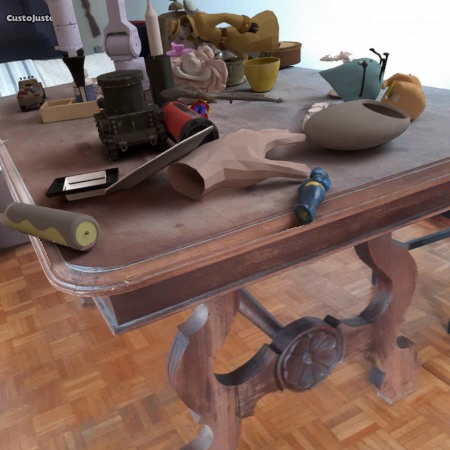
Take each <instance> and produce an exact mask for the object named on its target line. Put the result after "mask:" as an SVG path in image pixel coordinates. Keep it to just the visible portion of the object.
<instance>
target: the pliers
mask: <svg viewBox="0 0 450 450" xmlns="http://www.w3.org/2000/svg"><path fill="white" fill-rule="evenodd" d="M159 95H160V97H162V98H163V99H164V100H167V101H174V100H175V101H177V100H178V98H181V97H183V98H189V99H190V98H193V99H200V100H203V101H207V102H208V103H211V104H218V100H221V101H229V104H230V105H232V104H233V101H241V102H242V101H244V102H266V103H277V104H279V103H281V102H283V101H284V99H283V98H281V97H280V98H278V99H277V98H274V97H268V96H267V97H266V92H264V93H261V92H247V91H244V92H243V91H241V92H240V91H236V92H234V91H231V92H229V91H228V92H220V93H212V92H202V91H201V90H200V89H196V88H195V89H192V90H188V89H185V88H183V87H182V86H176V87H173V88H170V89H167V90H164V91H162V92H160V94H159Z"/></svg>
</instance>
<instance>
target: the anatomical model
mask: <svg viewBox="0 0 450 450" xmlns="http://www.w3.org/2000/svg"><path fill="white" fill-rule="evenodd" d="M213 58H214V53H213V51H212V49H211V48H210V47H209V46H203V47H201V48H200V49H198V50H196V51H190V52H189V53H185V52H184V53H183V54H182V56H179V57H173V58H170V59H171V66H172V73H173V79H174V86H175V87H176V86H182V87H183V88H185V89H188V90H192V89H195V88H196V89H200V90H201V91H202V92H212V93H223V91H224V90H225V88H226V87H227V86H226V85H225V84H226V80H227V76H228V71H227V68H226V65H225V62H224V61H223V60H221V59H219V60H215V59H213ZM177 101H180V102H182V103H184V104H185V105H186V106H187V105H189V106H190V105H192V104H193V103H195V102H196V101H197V99H193V98H190V99H189V98H183V97H181V98H178V100H177Z"/></svg>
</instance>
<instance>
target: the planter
mask: <svg viewBox="0 0 450 450" xmlns="http://www.w3.org/2000/svg"><path fill="white" fill-rule="evenodd" d="M380 101H381V100H380ZM380 101H379V100H369V99H362V100H354V101H348V102H344V101H343V102H341V103H336V104H332V105H330V106H329V105H328V107H326V108H324V109H322V110H320V111H318V112H316V113H315V114H314V115H312V116H311V117H310V118H309V119H308V120H307V121H306V123H305V125H304V130H303V134H306V139H307V140H308V141H310V142H311V143H312V144H314V145H316V146H319V147H322V148H325V149H328V150H329V149H330V150H337V151H357V150H364V149H370V148H373V147H377V146H379V145H383V144H385V143H388V142H391V141H392V140H395V139H397V138H398V137H400V136H401V135H402V134H403V133H405V132H406V131H407V130H408V128H409V126H410V124H411V120H410V117H409V115H408V114H407V113H406V112H405V111H403V110H401V109H399V108H397V107H395V106H392V105H390V104H387V103H384V102H380Z"/></svg>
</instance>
